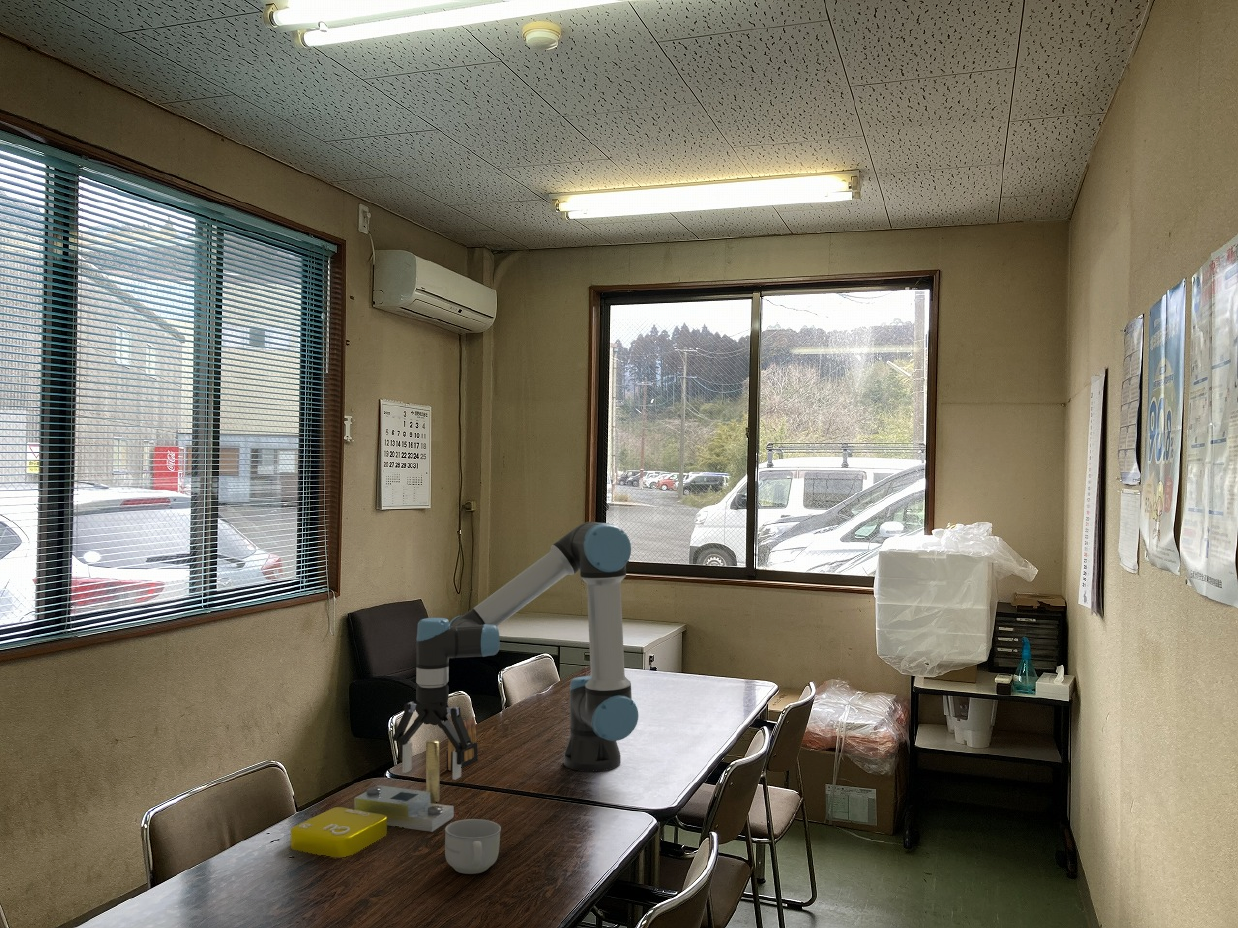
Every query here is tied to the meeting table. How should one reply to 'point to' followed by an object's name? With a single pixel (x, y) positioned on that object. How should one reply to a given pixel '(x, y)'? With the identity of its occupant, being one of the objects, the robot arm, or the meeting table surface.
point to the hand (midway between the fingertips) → (431, 774)
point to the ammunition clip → (469, 753)
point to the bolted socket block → (404, 807)
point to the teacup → (472, 845)
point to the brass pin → (432, 770)
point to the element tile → (338, 832)
